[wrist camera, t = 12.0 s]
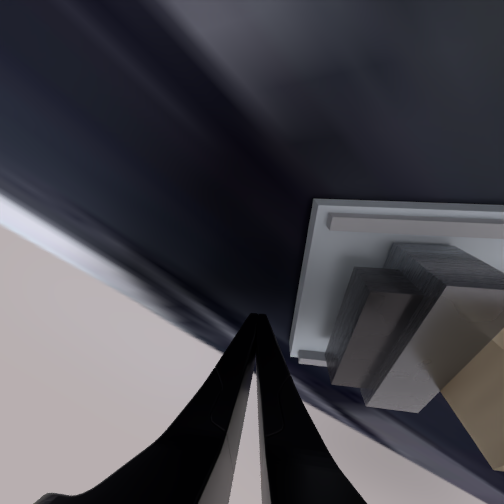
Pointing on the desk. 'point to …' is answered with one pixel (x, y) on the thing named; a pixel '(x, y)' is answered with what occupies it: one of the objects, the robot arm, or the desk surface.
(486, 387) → the maple block
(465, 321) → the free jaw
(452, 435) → the desk surface
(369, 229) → the vise bed
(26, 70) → the desk surface
